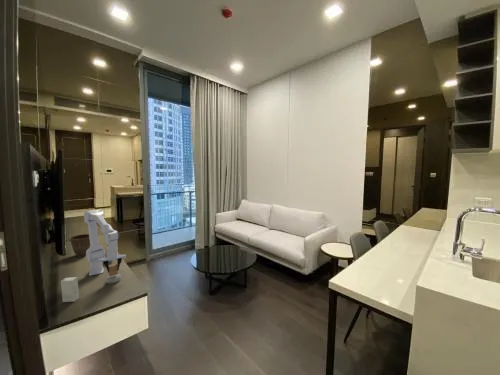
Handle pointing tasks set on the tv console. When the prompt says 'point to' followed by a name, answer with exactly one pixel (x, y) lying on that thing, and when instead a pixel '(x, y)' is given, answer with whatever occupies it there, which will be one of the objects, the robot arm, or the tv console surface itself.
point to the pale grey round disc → (113, 279)
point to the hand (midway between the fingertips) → (113, 271)
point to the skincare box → (70, 289)
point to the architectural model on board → (106, 256)
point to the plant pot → (80, 244)
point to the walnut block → (113, 270)
